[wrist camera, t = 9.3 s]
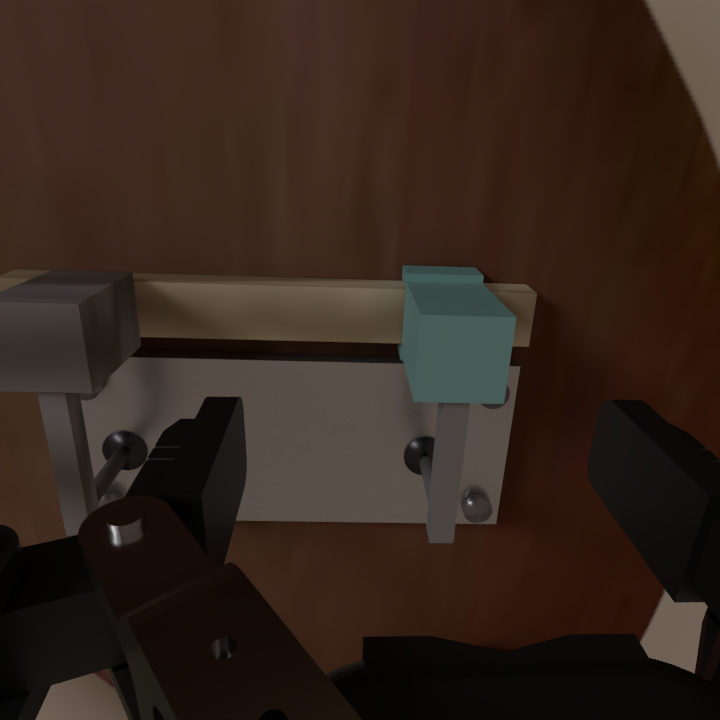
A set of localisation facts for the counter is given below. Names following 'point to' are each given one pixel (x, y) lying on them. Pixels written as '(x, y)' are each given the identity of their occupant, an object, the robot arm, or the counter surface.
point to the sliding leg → (452, 370)
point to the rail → (171, 320)
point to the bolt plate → (304, 432)
